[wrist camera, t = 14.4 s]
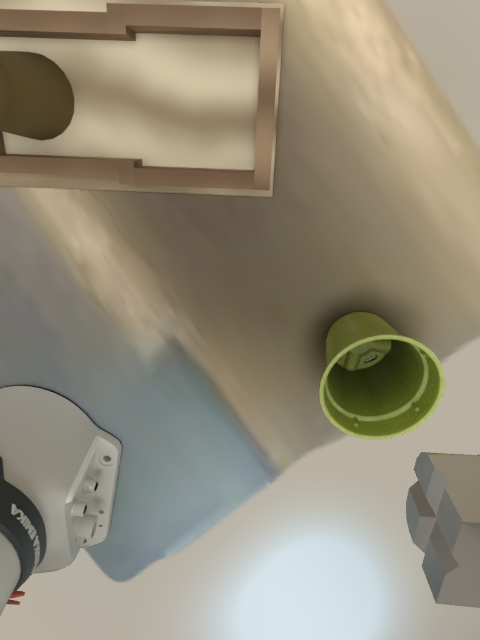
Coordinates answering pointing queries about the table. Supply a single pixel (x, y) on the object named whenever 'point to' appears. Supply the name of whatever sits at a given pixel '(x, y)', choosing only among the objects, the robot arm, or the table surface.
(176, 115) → the wooden tray
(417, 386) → the plant pot
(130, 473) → the table surface
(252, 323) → the table surface
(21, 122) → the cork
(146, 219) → the table surface
